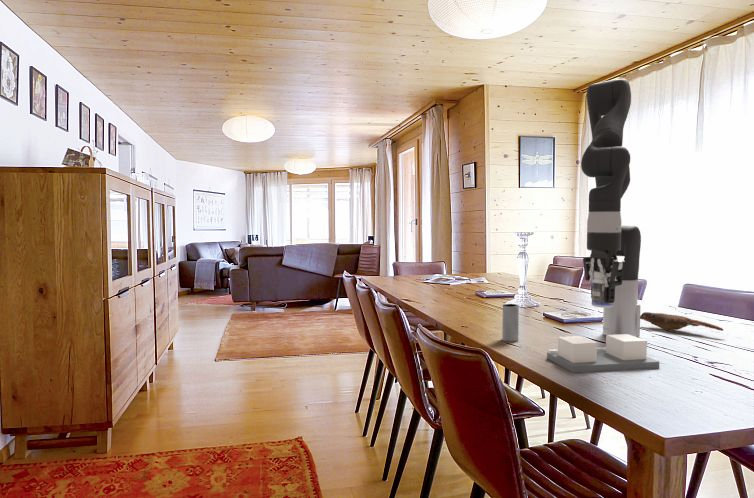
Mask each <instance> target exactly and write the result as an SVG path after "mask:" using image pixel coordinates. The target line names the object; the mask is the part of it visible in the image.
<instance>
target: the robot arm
mask: <svg viewBox="0 0 754 498" xmlns="http://www.w3.org/2000/svg"><path fill="white" fill-rule="evenodd" d="M586 103H587V104H586V105H587V112H588V117H589V118H588V119H589V125H590V130H591V137H592V138H591V142H590V143H589V145H588V146H587V147H586V149H585V151H584V153H583V155H582V158H581V161H580V167H581V168H580V169H581V171H582V173H583V174H584V175H585V176H586V177H588V178H594V179H595V187H594V188H592V189H590V190H589V192H588V216H587V220H586V250H587V251H591V252H590V256H587V257H586V256H585V257H583V258H582V261H583V262H582V263H583V271H584V279H585V280H586V281H588V282H589V284H590V299H592V281H593V279H595V278H594V272H595V271H596V272H600V273H601V277H602V278H603V279H604V284H605V287H604V302H606V303H613V306H612V307H610V308H602V309H603V310H602V311H603V313H602V314H603V315H602V318H603V319H602V335H604V336H606V335H617V334H629V335H632V336H635V337H638V338H639V337H641V336H640V335H641V334H640V333H641V319H640V316H641V305H640V303H639V304H638V302H639V301H638V300H639V299H638V294H639V293H638V292H639V270H640V256H641V255H640V254H641V244H642V243H641V241H642V235H641V230H640V229H639V227H638V226H635V225H622V214H621V213H622V212H621V207H622V206H621V205H622V203H621V202H622V201H621V200H622V198H623V197H624V195H625V194H626V191H627V190H628V187H629V185H630V182H631V171H630V170H631V169H630V163H631V154H630V152H629V150H628V149H627V148H626V147H625V146H623V143H624V141H623V140H624V139H623V138H624V129H625V128H624V127H625V124H626V121H627V118H628V114H629V113H630V108H631V104H632V90H631V85H630V81H628V79H626V78H615V79H610V80H606V81H605V80H604V81H601V82H596V83H591V84H590V85H588V87H587V91H586ZM618 257H624V258H623V260H619V259H618ZM607 273H611V274H607ZM608 278H610V281H609V279H608Z"/></svg>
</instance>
